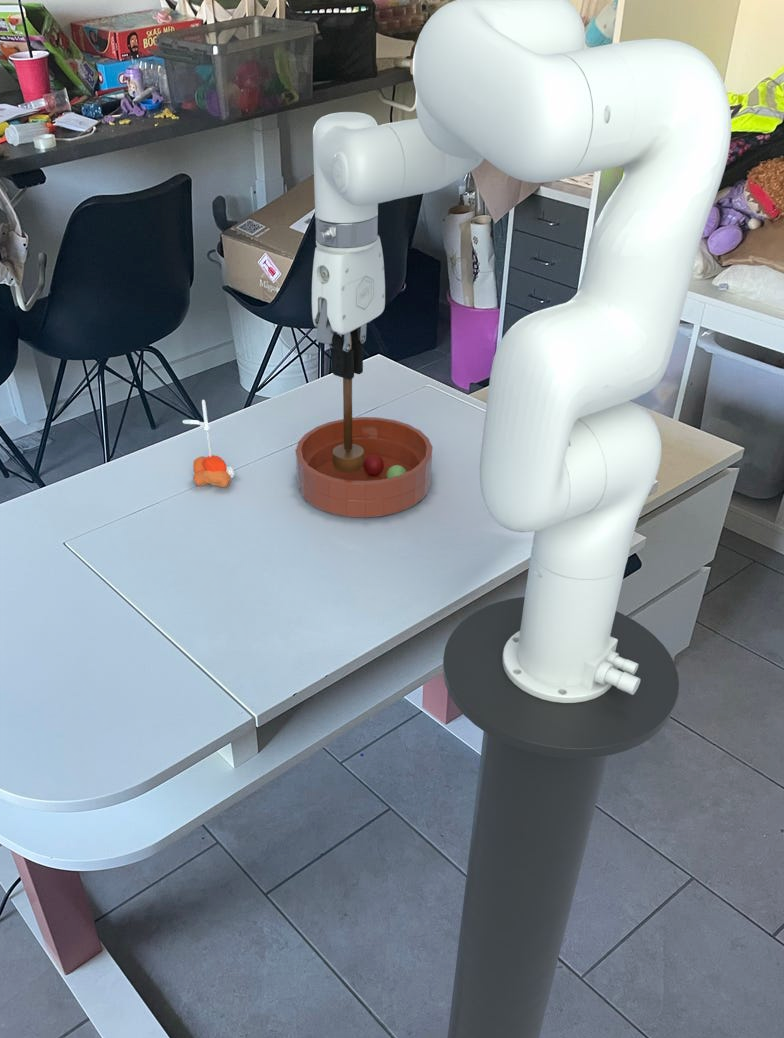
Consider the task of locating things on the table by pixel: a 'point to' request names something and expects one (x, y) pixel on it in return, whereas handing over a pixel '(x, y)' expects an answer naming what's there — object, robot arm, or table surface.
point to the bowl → (358, 488)
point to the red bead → (373, 465)
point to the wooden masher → (348, 437)
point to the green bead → (395, 471)
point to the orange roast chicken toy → (210, 462)
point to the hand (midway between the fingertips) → (347, 373)
